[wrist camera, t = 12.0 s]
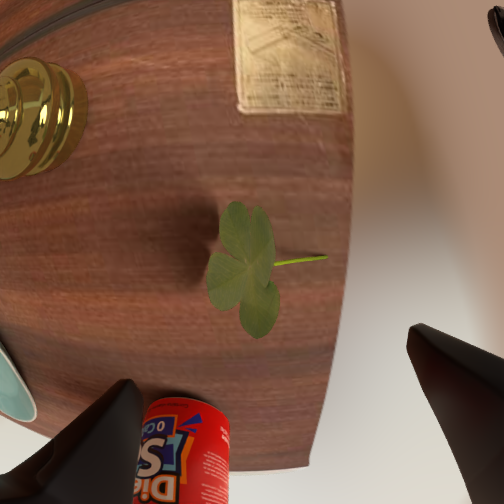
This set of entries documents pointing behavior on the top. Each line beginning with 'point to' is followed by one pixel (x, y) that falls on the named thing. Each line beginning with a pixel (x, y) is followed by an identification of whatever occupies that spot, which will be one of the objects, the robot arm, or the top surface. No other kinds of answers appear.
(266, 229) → the green clover leaf
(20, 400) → the plate
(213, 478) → the soda can
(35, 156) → the brass weight
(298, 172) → the top surface
